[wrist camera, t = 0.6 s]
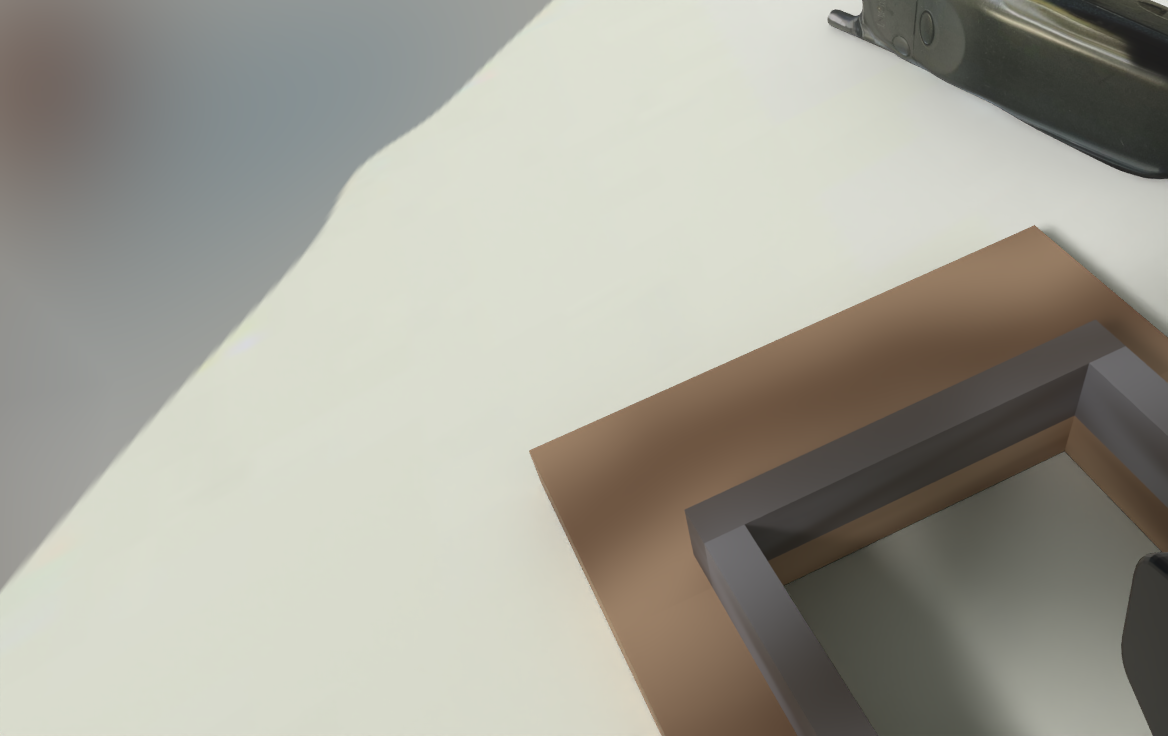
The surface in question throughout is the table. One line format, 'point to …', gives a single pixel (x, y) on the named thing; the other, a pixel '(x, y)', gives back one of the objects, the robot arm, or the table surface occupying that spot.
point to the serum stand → (846, 470)
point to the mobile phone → (1044, 65)
